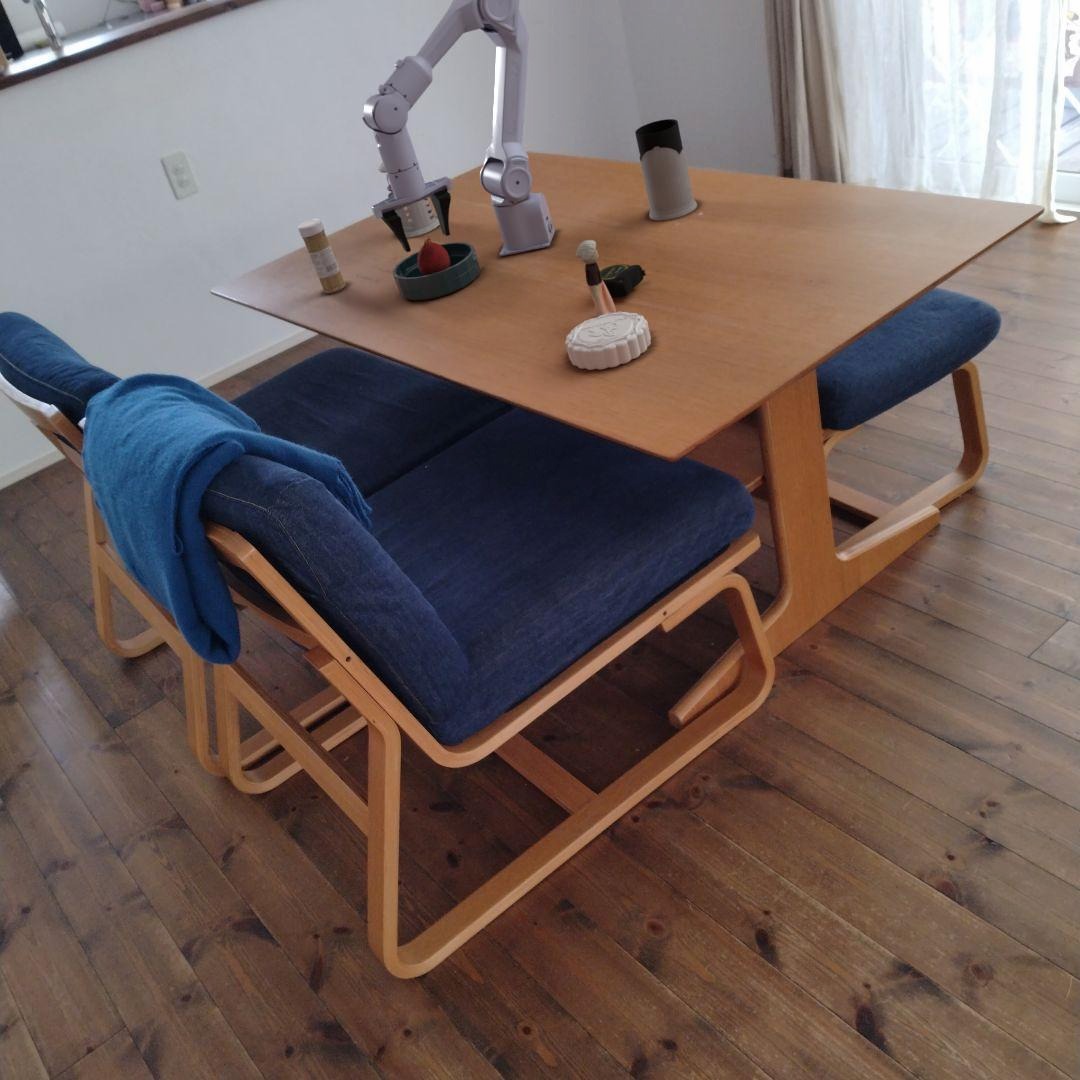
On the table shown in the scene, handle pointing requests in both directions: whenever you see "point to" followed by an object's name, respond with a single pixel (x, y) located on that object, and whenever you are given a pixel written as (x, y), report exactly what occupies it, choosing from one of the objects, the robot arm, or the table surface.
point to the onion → (432, 258)
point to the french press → (415, 215)
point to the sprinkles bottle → (321, 255)
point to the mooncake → (608, 340)
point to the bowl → (441, 282)
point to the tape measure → (621, 279)
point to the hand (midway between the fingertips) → (427, 242)
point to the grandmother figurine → (595, 278)
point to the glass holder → (665, 170)
